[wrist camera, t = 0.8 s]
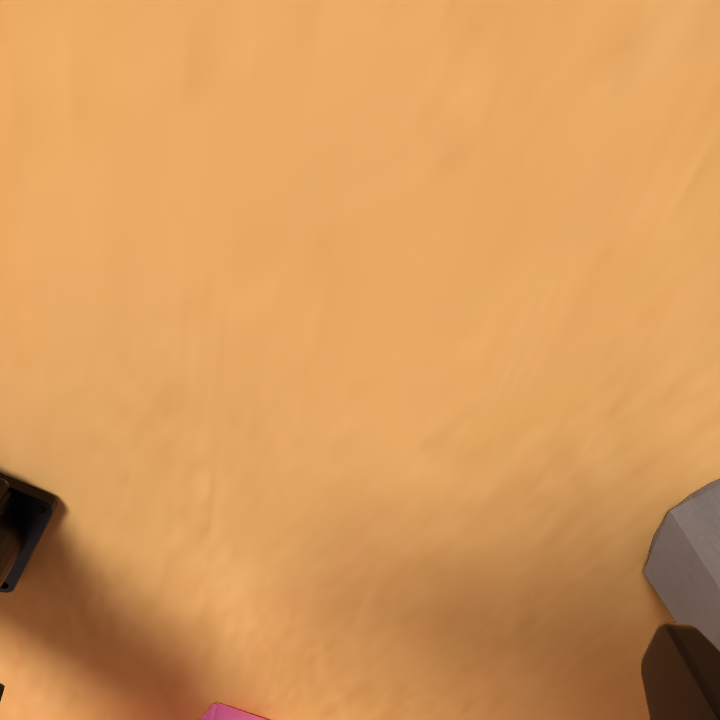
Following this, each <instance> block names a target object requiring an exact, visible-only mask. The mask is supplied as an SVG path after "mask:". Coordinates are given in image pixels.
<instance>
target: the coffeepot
mask: <svg viewBox="0 0 720 720" xmlns="http://www.w3.org/2000/svg"><path fill="white" fill-rule="evenodd" d="M643 572H644V574H645V575H646V577H647V578H648V580H649V581H650V583H651V585H652V586H653V588H654V589H655V591H656V592H657V594H658V595H659V597H660V598H661V600H662V602H663V603H664V605H665V606H666V608H667V609H668V611H669V612H670V614H671V615H672V617H673V619H674V620H675V622H676V623H685V624H690V625H693V626H695V627H696V628H697V629H699V630H700V631H701V632H702V633H703V634H704V635H705V636H706V637H707V638H708V639H709V640H710V641H711V642H712V643H713V644H714V645H715V646H716V647H717V648H718V649H719V650H720V479H719V480H716V481H714V482H711V483H709V484H708V485H706V486H704V487H703V488H701V489H699V490H697V491H696V492H694V493H692V494H691V495H689V496H688V497H687V498H686V499H684V500H683V501H682V502H681V503H680V504H678V505H677V506H676V507H675V508H673V509H671V510H670V511H669V512H668V514H667V515H666V517H665V518H664V520H663V521H662V523H661V524H660V526H659V528H658V529H657V531H656V533H655V535H654V537H653V540H652V544H651V547H650V557H649V560H648V562H647V564H646V566H645V569H644V571H643Z"/></svg>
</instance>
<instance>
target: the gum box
mask: <svg viewBox="0 0 720 720" xmlns="http://www.w3.org/2000/svg"><path fill="white" fill-rule="evenodd" d="M200 720H268V719H264V718H261V717H258V716H255V715H252V714H249V713H247V712H244V711H241V710H238V709H235V708H232V707H229V706H226V705H223V704H221V703H215V704H212V705H211V707H210V708H209V709H208V711H207V712H206V713H205V714H204V716H203V717H202V718H201V719H200Z"/></svg>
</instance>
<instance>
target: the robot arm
mask: <svg viewBox="0 0 720 720" xmlns="http://www.w3.org/2000/svg"><path fill="white" fill-rule="evenodd" d="M56 506H57V502H56V500H55V498H54V497H53V496H51V495H49V494H47V493H45V492H42V491H40V490H38V489H35V488H33V487H30V486H28V485H26V484H23V483H21V482H18V481H16V480H14V479H11V478H9V477H6V476H4V475H2V474H0V592H11V591H13V590H14V588H15V586H16V585H17V583H18V581H19V579H20V577H21V575H22V573H23V571H24V569H25V567H26V565H27V563H28V561H29V559H30V558H31V556H32V554H33V552H34V550H35V548H36V546H37V544H38V542H39V540H40V538H41V536H42V534H43V532H44V530H45V528H46V526H47V524H48V522H49V520H50V518H51V516H52V514H53V512H54V510H55V508H56ZM641 674H642V680H643V685H644V690H645V695H646V700H647V705H648V710H649V715H650V720H720V650H719V649H718V648H717V647H716V646H715V645H714V644H713V643H712V642H711V641H710V640H709V639H708V638H707V637H706V636H705V635H704V634H703V633H702V632H701V631H700V630H699V629H697V628H696V627H695V626H693V625H690V624H685V623H671V622H664V623H662V624H661V625H659V627H658V628H657V630H656V632H655V634H654V636H653V638H652V640H651V642H650V644H649V646H648V648H647V650H646V652H645V654H644V656H643V659H642V663H641ZM4 687H5V686H4V685H3V684H1V683H0V701H1V697H2V694H3V691H4Z"/></svg>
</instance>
